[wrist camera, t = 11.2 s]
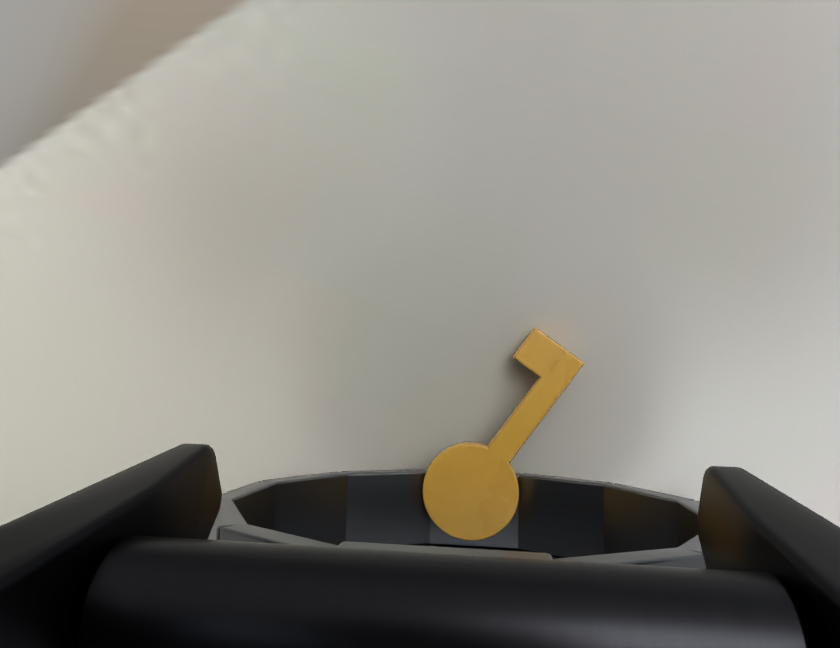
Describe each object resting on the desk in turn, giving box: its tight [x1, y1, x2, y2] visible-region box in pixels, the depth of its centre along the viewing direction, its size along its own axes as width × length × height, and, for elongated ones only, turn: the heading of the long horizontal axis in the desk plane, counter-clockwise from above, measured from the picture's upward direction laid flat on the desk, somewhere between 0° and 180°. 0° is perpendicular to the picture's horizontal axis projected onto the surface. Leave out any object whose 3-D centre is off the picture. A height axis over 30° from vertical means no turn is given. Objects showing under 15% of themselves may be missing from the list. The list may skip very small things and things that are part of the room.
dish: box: [77, 469, 811, 648], centre depth 12 cm, size 10×12×3 cm
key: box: [422, 328, 584, 541], centre depth 17 cm, size 6×3×1 cm, turn 144°
